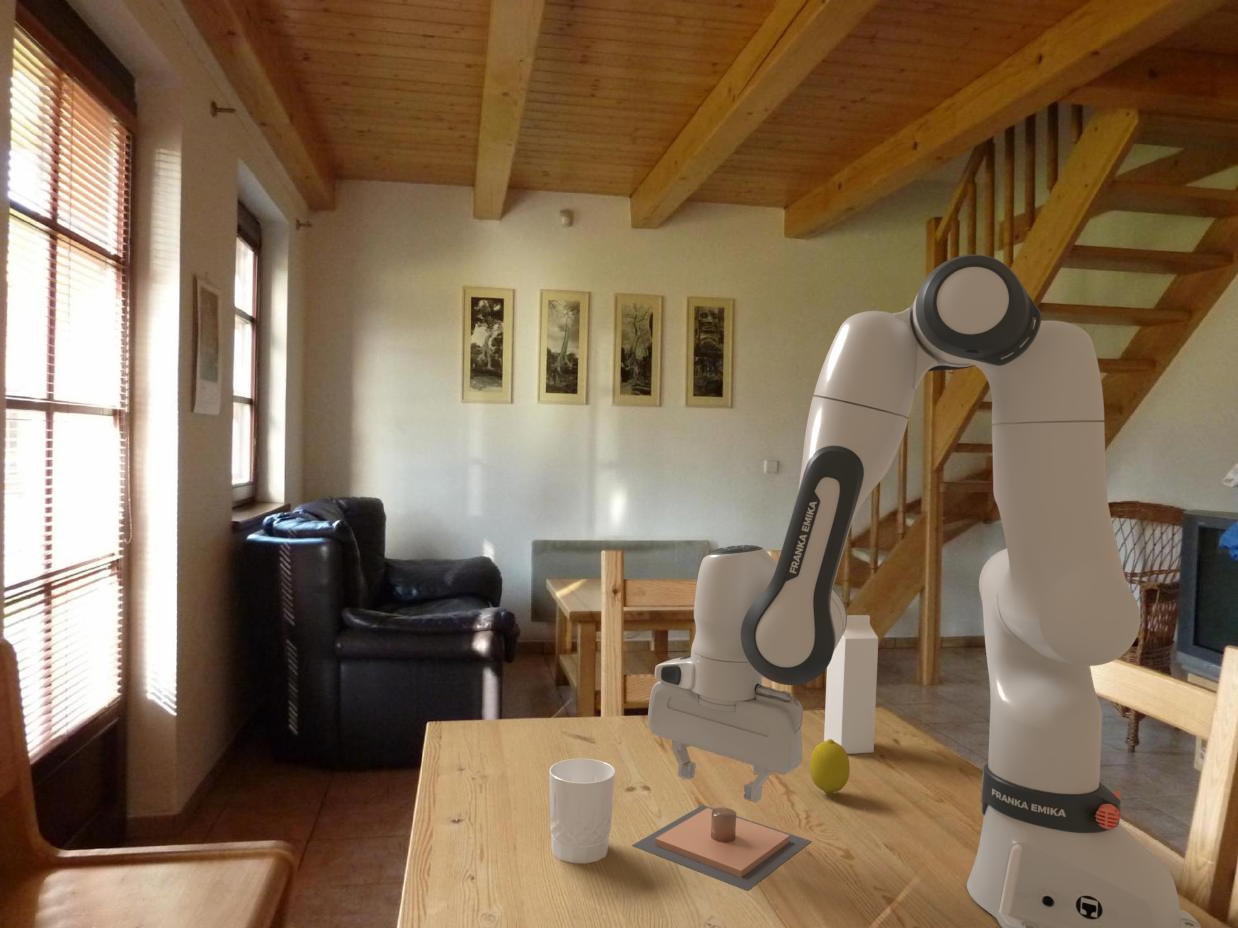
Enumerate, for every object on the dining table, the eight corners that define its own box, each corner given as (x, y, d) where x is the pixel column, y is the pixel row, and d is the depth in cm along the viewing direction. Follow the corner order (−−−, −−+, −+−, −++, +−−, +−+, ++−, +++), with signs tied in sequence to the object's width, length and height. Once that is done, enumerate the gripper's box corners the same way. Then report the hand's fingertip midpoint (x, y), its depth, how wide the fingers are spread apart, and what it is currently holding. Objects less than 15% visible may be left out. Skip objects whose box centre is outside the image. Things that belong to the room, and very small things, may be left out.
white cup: (557, 834, 109) (559, 755, 108) (618, 842, 107) (621, 761, 107) (538, 863, 101) (541, 778, 101) (604, 872, 99) (607, 786, 99)
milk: (823, 742, 146) (827, 611, 146) (856, 740, 148) (860, 611, 147) (841, 754, 140) (845, 619, 140) (875, 752, 142) (879, 618, 141)
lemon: (849, 804, 121) (852, 747, 120) (808, 800, 122) (811, 743, 122) (847, 789, 126) (849, 734, 126) (808, 785, 127) (810, 731, 127)
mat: (811, 844, 108) (811, 840, 108) (747, 893, 96) (747, 890, 96) (702, 807, 118) (702, 804, 118) (631, 848, 105) (631, 845, 105)
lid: (789, 841, 108) (790, 811, 108) (740, 877, 98) (742, 844, 98) (707, 813, 115) (708, 785, 115) (654, 844, 106) (655, 813, 106)
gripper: (815, 690, 103) (807, 806, 103) (672, 655, 115) (665, 759, 115) (791, 701, 98) (783, 822, 98) (644, 663, 110) (637, 771, 110)
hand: (718, 787), depth 107 cm, fingers open, 8 cm apart
